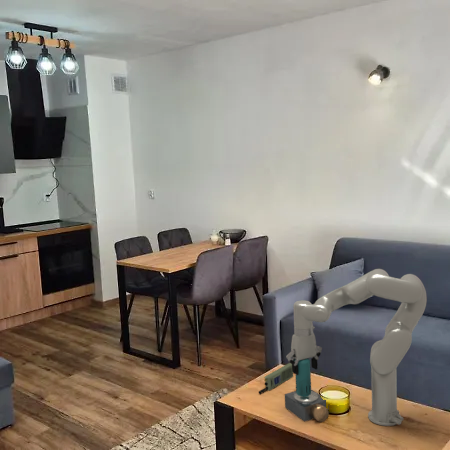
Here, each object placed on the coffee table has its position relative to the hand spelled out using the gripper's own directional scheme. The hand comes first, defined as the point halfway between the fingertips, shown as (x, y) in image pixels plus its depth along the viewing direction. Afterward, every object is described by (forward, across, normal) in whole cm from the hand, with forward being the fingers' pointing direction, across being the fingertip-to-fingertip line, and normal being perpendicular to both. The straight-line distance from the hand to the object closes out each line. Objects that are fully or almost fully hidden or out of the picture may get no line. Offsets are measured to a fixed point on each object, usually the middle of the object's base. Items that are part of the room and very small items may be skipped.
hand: (305, 371), depth 211 cm
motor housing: (+17, 0, +2) cm, 17 cm away
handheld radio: (+18, -3, -28) cm, 33 cm away
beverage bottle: (+11, +1, 0) cm, 11 cm away
